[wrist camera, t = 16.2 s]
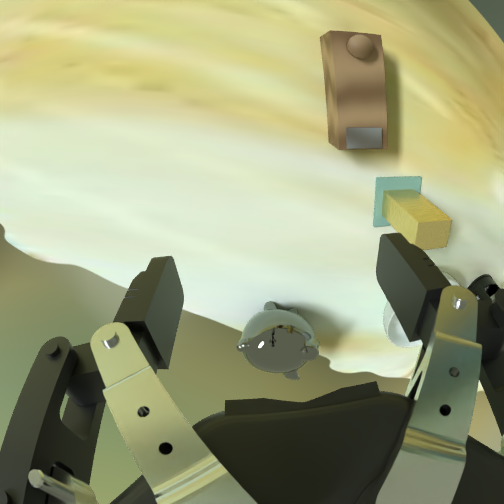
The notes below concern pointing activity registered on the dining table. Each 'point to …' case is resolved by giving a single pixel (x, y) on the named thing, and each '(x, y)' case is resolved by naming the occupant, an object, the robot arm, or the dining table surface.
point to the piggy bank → (278, 341)
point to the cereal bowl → (394, 326)
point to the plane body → (355, 90)
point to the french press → (481, 283)
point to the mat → (391, 184)
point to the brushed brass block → (416, 218)
